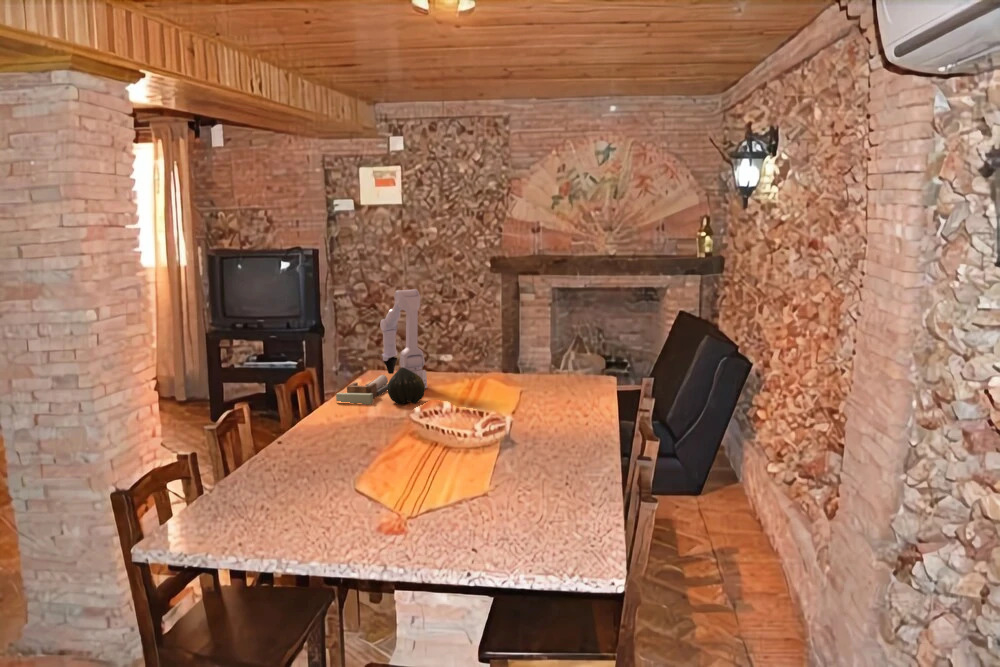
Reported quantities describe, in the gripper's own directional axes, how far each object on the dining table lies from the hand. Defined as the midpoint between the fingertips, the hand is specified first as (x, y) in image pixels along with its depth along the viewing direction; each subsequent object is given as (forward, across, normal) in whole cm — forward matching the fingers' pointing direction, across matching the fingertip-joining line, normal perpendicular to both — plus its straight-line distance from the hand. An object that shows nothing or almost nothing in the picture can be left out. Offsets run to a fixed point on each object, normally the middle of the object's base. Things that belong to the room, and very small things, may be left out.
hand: (391, 373), depth 358 cm
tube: (+4, +18, 0) cm, 19 cm away
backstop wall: (+3, +44, 0) cm, 44 cm away
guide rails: (+3, +18, 0) cm, 19 cm away
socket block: (+3, +36, 0) cm, 36 cm away
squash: (+4, +40, +21) cm, 45 cm away
